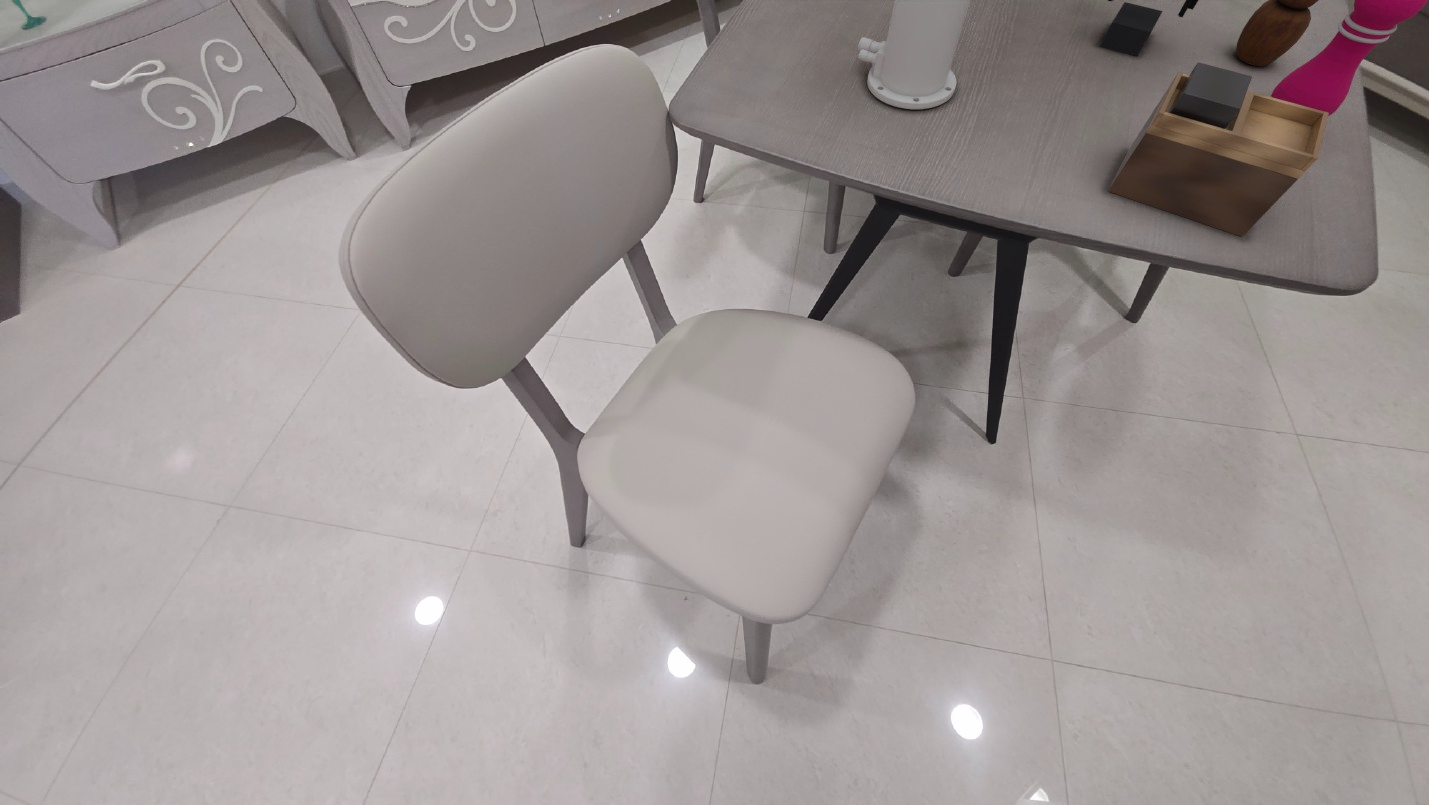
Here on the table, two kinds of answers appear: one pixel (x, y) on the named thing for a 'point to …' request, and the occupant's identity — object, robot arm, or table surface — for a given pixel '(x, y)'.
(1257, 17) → the wooden figurine
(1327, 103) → the pink bowling pin
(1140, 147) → the wooden divided box
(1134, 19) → the black block
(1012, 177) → the table surface
